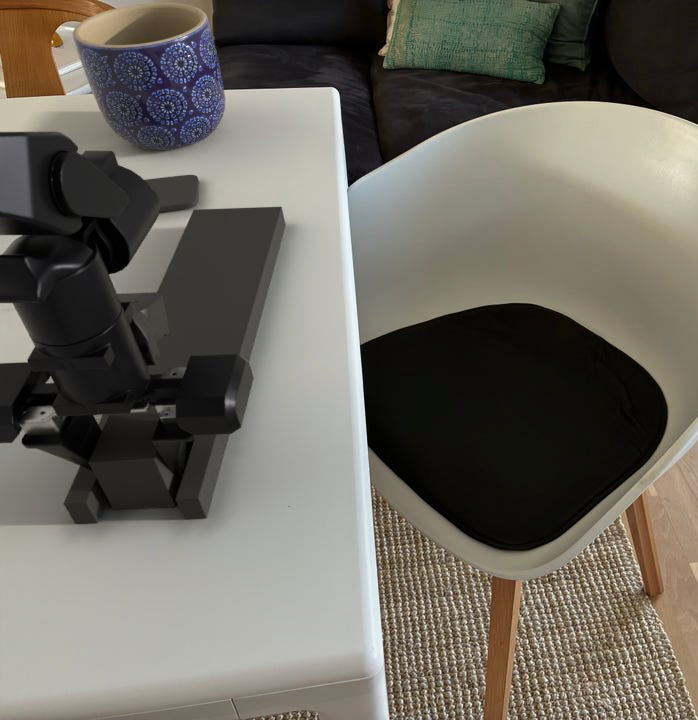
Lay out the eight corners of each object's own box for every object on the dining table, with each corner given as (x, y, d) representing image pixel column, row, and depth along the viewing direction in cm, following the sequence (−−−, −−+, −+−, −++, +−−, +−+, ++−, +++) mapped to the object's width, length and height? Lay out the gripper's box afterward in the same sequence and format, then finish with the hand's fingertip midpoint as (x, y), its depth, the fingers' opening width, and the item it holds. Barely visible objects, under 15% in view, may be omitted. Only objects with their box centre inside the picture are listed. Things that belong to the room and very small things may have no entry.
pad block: (175, 506, 60) (154, 459, 56) (112, 509, 60) (87, 462, 56) (190, 459, 64) (171, 412, 60) (131, 461, 63) (108, 414, 60)
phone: (196, 202, 93) (62, 218, 90) (198, 208, 93) (64, 224, 91) (198, 173, 98) (72, 187, 95) (199, 179, 99) (74, 193, 96)
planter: (219, 160, 102) (189, 45, 92) (93, 163, 102) (49, 49, 92) (245, 106, 114) (221, 0, 104) (132, 109, 114) (97, 3, 104)
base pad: (207, 518, 59) (198, 498, 58) (74, 524, 59) (62, 503, 57) (285, 225, 90) (281, 206, 89) (199, 228, 90) (193, 209, 88)
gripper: (243, 243, 57) (282, 396, 67) (-17, 252, 56) (64, 405, 67) (209, 343, 48) (261, 499, 59) (-95, 354, 48) (11, 510, 58)
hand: (147, 473), depth 61 cm, fingers closed on pad block, 5 cm apart
